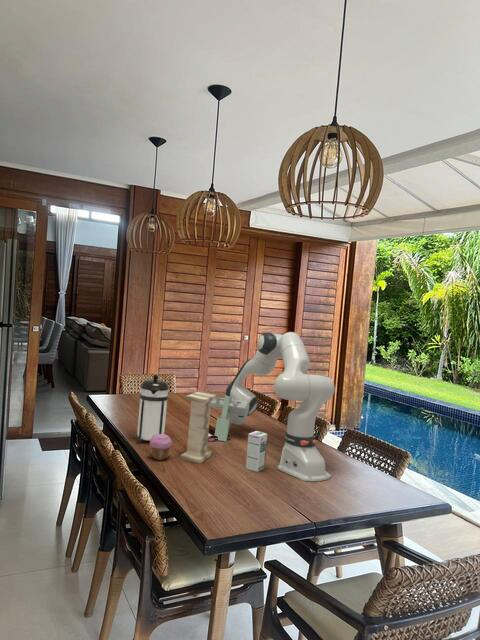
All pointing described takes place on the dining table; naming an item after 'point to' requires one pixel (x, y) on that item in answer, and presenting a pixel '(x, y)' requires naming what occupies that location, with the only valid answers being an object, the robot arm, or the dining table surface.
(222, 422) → the spatula
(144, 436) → the coffee press
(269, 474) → the dining table surface
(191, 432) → the stand
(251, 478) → the dining table surface
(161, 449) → the cupcake
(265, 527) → the dining table surface
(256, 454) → the syrup box
